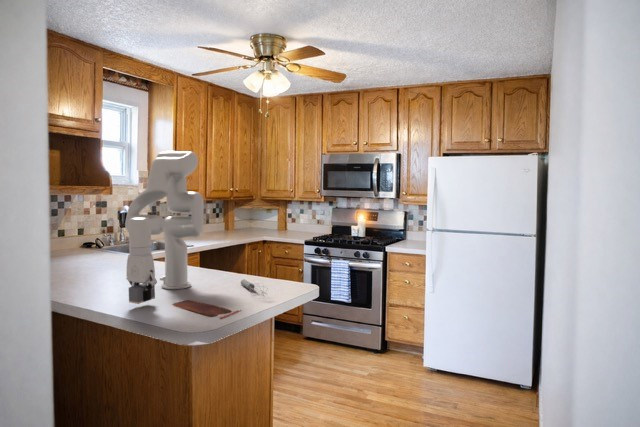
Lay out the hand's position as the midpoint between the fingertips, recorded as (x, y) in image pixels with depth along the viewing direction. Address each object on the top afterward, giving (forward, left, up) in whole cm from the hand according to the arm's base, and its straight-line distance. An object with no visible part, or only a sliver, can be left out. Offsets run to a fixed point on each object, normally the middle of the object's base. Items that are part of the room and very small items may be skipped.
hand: (142, 298), depth 165 cm
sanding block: (0, 0, -1) cm, 1 cm away
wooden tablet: (+20, +9, -4) cm, 22 cm away
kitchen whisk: (+22, +38, -3) cm, 44 cm away
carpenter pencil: (+35, +6, -3) cm, 36 cm away
